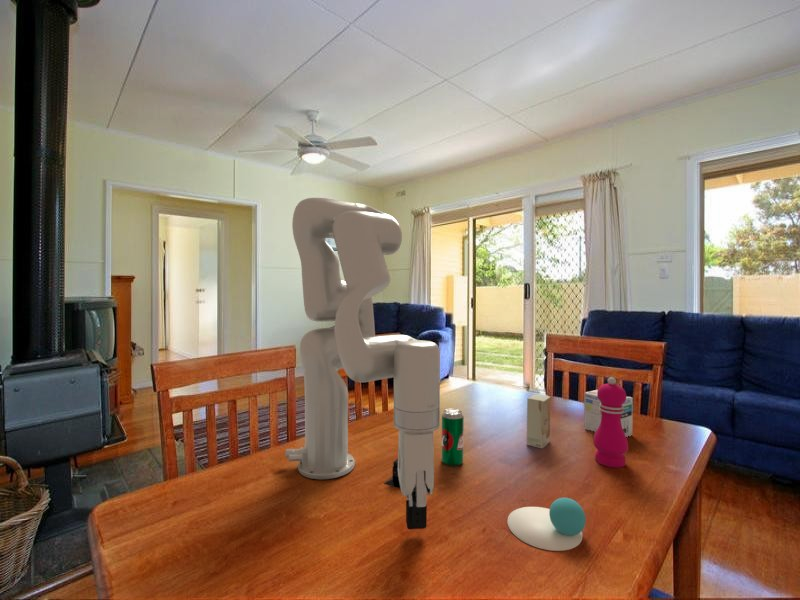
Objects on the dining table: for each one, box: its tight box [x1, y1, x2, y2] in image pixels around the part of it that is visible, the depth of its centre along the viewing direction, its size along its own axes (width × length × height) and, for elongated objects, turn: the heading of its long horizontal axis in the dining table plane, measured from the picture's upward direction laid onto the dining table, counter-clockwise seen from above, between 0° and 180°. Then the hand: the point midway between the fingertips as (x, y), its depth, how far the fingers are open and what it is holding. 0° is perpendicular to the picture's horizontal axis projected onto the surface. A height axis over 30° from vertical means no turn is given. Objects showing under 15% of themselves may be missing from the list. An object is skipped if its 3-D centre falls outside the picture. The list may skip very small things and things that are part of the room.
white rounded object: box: [506, 506, 583, 552], centre depth 68 cm, size 12×12×1 cm
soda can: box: [440, 408, 465, 467], centre depth 92 cm, size 5×5×12 cm
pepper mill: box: [592, 376, 629, 469], centre depth 93 cm, size 7×7×20 cm
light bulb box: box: [583, 389, 634, 438], centre depth 112 cm, size 11×7×11 cm, turn 34°
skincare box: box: [526, 393, 552, 449], centre depth 104 cm, size 6×4×12 cm
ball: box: [549, 497, 587, 536], centre depth 66 cm, size 6×6×6 cm
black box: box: [383, 458, 401, 490], centre depth 85 cm, size 12×7×5 cm, turn 151°
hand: (416, 525), depth 66 cm, fingers closed
